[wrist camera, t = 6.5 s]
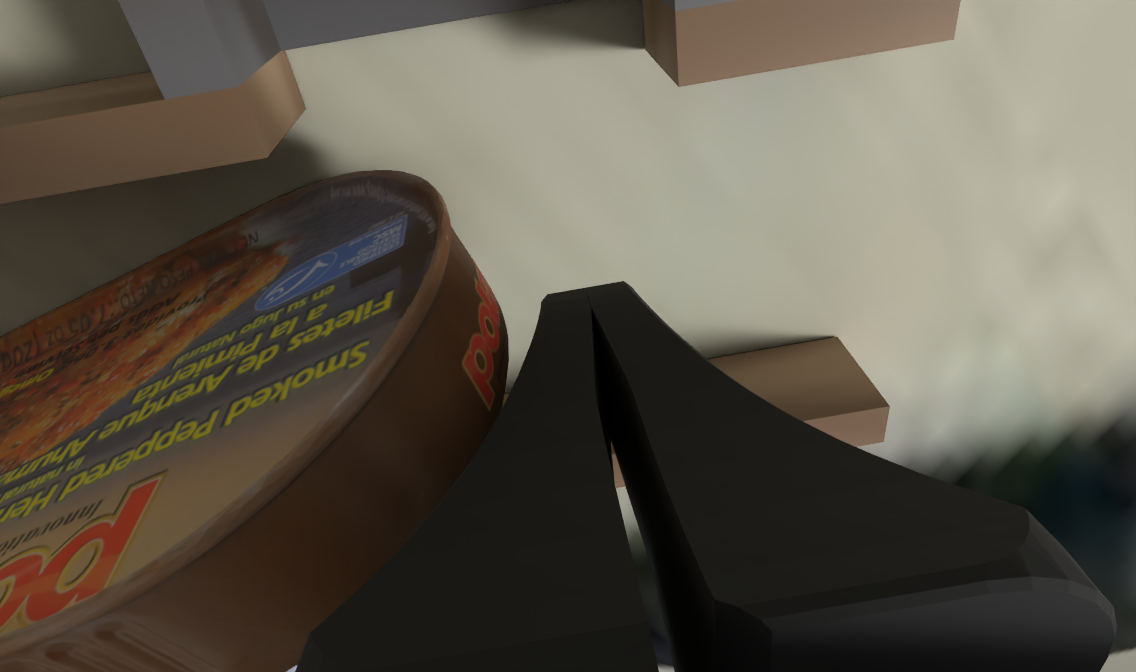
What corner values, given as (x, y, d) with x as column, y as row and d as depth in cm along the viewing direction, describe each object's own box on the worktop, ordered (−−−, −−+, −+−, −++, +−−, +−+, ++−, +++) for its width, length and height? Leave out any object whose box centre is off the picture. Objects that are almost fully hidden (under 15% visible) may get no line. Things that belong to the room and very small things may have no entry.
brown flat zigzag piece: (821, 483, 19) (863, 559, 16) (34, 619, 19) (-22, 711, 17) (916, -401, 9) (1045, -485, 7) (-726, -117, 9) (-1092, -115, 7)
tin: (449, 109, 12) (393, 424, 5) (526, 250, 14) (563, 629, 7) (-170, 418, 14) (-780, 918, 8) (-38, 505, 16) (-434, 978, 9)
